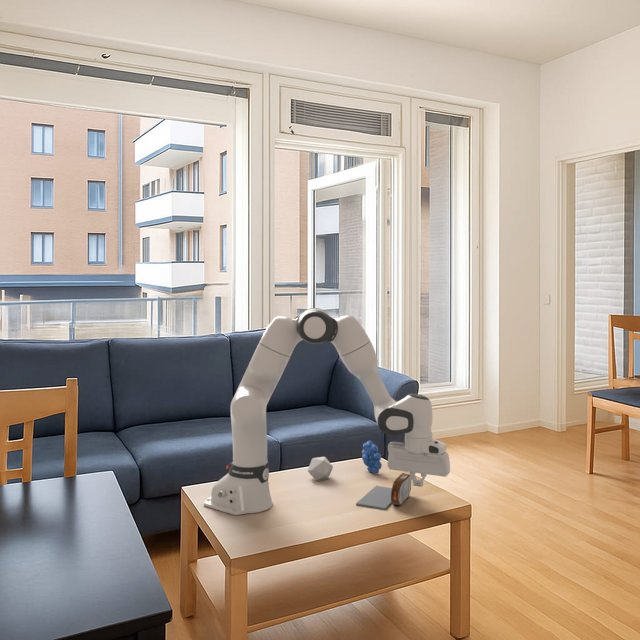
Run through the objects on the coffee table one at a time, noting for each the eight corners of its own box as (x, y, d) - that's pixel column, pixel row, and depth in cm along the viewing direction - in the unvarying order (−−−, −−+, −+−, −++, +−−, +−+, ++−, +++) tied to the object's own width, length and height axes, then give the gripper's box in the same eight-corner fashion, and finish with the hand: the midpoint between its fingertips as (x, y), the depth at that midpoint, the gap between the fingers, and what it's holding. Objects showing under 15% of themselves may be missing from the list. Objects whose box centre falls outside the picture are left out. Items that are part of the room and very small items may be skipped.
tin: (404, 493, 213) (404, 469, 212) (413, 494, 211) (413, 470, 211) (389, 508, 199) (389, 482, 199) (399, 509, 198) (399, 483, 197)
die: (327, 475, 234) (311, 455, 234) (341, 469, 229) (325, 448, 229) (315, 488, 228) (299, 468, 228) (329, 482, 223) (313, 461, 223)
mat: (356, 505, 202) (356, 503, 202) (376, 487, 219) (376, 485, 219) (385, 509, 198) (385, 508, 197) (403, 491, 215) (403, 489, 215)
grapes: (353, 470, 239) (353, 439, 238) (368, 467, 242) (368, 437, 241) (370, 478, 229) (370, 446, 228) (385, 475, 232) (385, 444, 231)
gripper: (384, 442, 203) (384, 484, 204) (446, 449, 194) (446, 493, 195) (391, 438, 209) (390, 478, 209) (451, 445, 200) (451, 487, 201)
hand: (418, 485), depth 202 cm, fingers closed
